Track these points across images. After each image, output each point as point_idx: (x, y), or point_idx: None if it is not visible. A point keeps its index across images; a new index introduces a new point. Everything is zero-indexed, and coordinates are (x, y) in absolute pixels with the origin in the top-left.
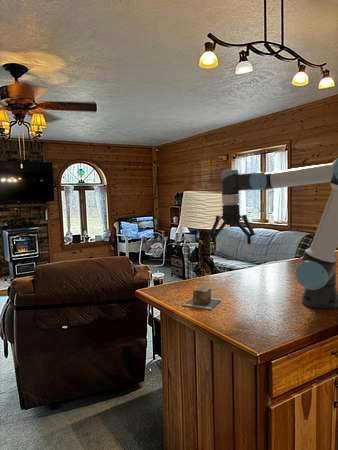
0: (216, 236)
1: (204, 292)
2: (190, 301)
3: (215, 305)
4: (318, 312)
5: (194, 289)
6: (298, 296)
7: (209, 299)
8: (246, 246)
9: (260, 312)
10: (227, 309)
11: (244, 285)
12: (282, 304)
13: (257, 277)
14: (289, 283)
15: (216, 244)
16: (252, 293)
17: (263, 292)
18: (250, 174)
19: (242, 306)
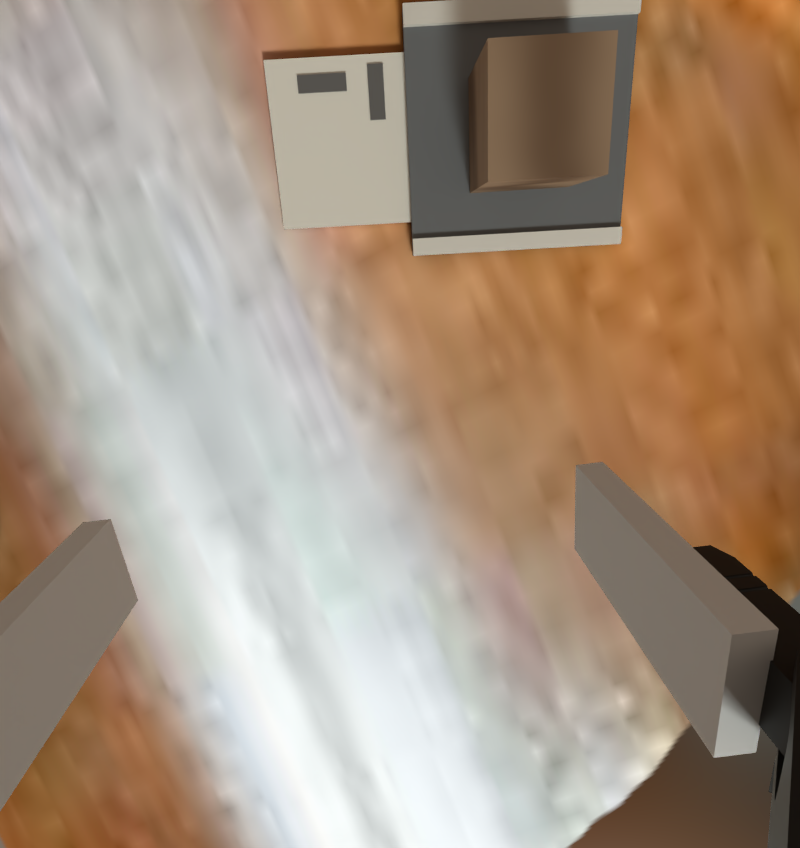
0: (777, 692)
1: (499, 39)
2: None
3: (407, 118)
4: None
5: (610, 60)
6: None
7: (473, 155)
8: (44, 574)
9: (105, 175)
10: (302, 88)
11: (406, 641)
12: (62, 396)
13: (393, 800)
14: (194, 765)
15: (653, 520)
16: (304, 518)
17: (254, 563)
18: None
19: (255, 240)
